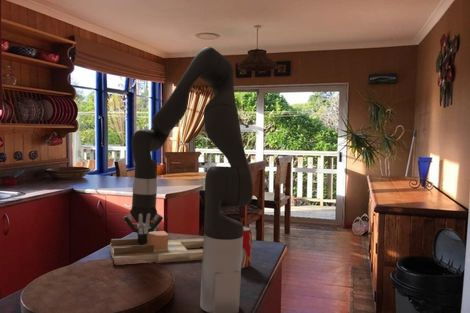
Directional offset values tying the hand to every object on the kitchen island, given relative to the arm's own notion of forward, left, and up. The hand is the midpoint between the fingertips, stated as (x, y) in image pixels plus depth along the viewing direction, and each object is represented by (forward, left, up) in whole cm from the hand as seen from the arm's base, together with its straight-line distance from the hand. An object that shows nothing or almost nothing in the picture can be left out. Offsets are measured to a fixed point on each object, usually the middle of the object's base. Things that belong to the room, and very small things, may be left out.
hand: (141, 244), depth 127 cm
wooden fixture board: (0, -8, -4) cm, 9 cm away
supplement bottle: (+18, -6, -4) cm, 19 cm away
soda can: (-16, -28, -4) cm, 32 cm away
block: (0, -5, -1) cm, 5 cm away
